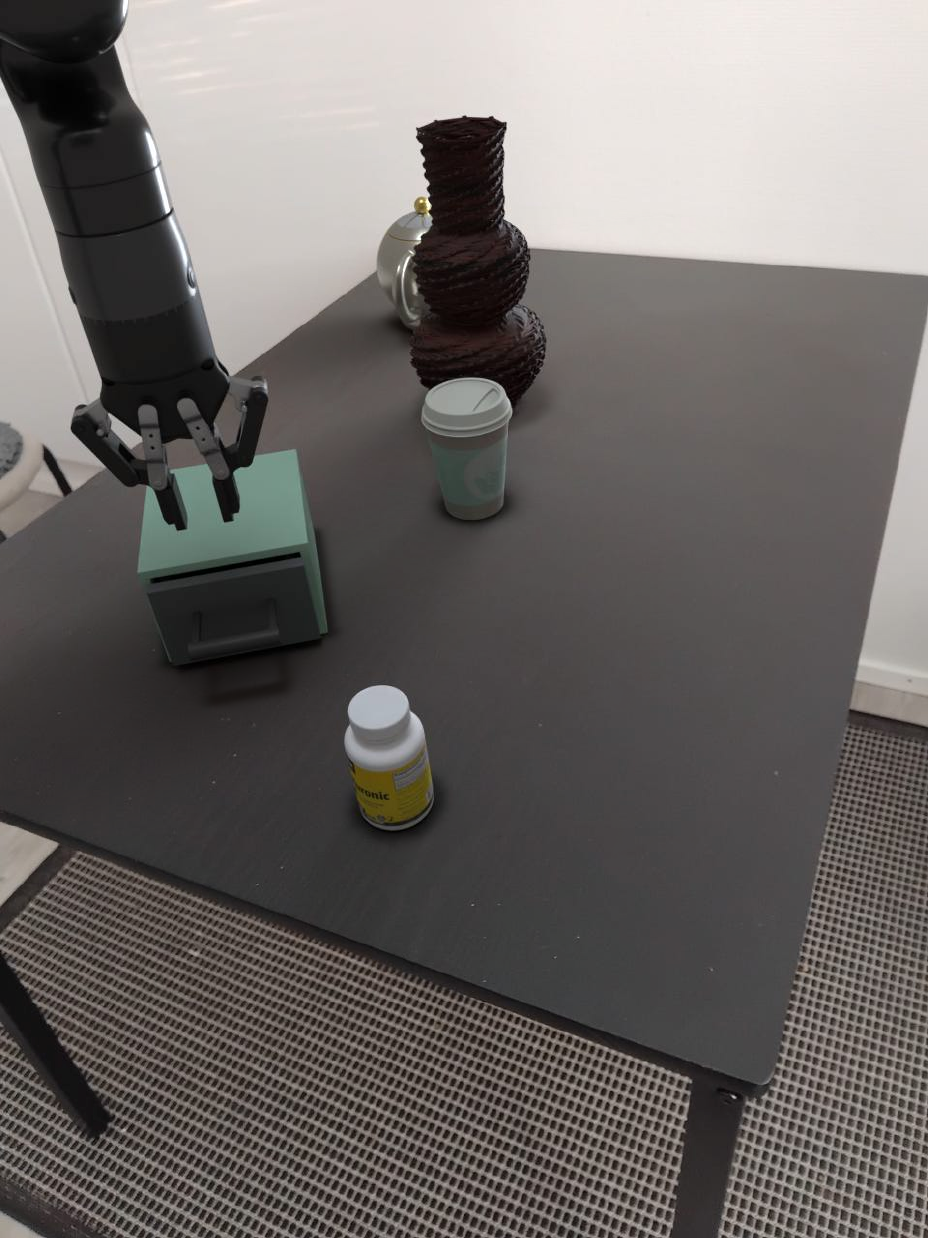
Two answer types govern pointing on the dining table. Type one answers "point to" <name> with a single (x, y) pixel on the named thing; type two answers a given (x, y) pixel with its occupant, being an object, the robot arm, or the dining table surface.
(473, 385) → the coffee cup
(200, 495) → the green drawer cabinet
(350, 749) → the supplement bottle
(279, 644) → the grey pull-out drawer
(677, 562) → the dining table surface
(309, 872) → the dining table surface
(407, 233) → the teapot
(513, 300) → the vase
